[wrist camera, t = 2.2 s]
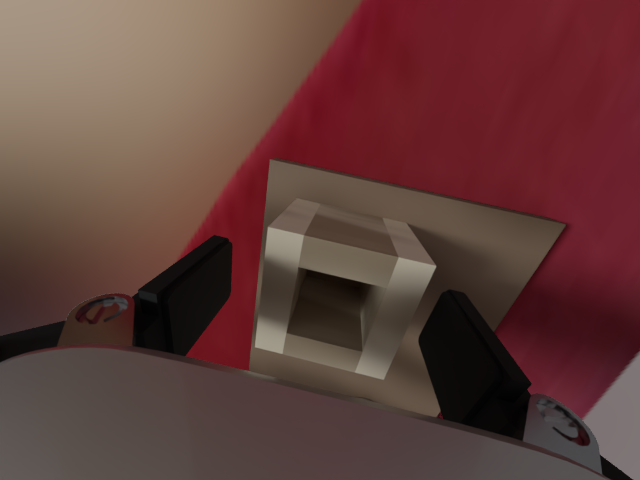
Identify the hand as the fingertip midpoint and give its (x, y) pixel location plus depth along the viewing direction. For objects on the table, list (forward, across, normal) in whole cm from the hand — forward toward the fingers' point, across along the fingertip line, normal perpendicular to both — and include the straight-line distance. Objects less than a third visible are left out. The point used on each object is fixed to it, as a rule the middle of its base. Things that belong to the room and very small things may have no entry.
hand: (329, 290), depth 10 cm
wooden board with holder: (+5, -3, +8) cm, 10 cm away
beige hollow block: (+4, 0, +1) cm, 4 cm away
